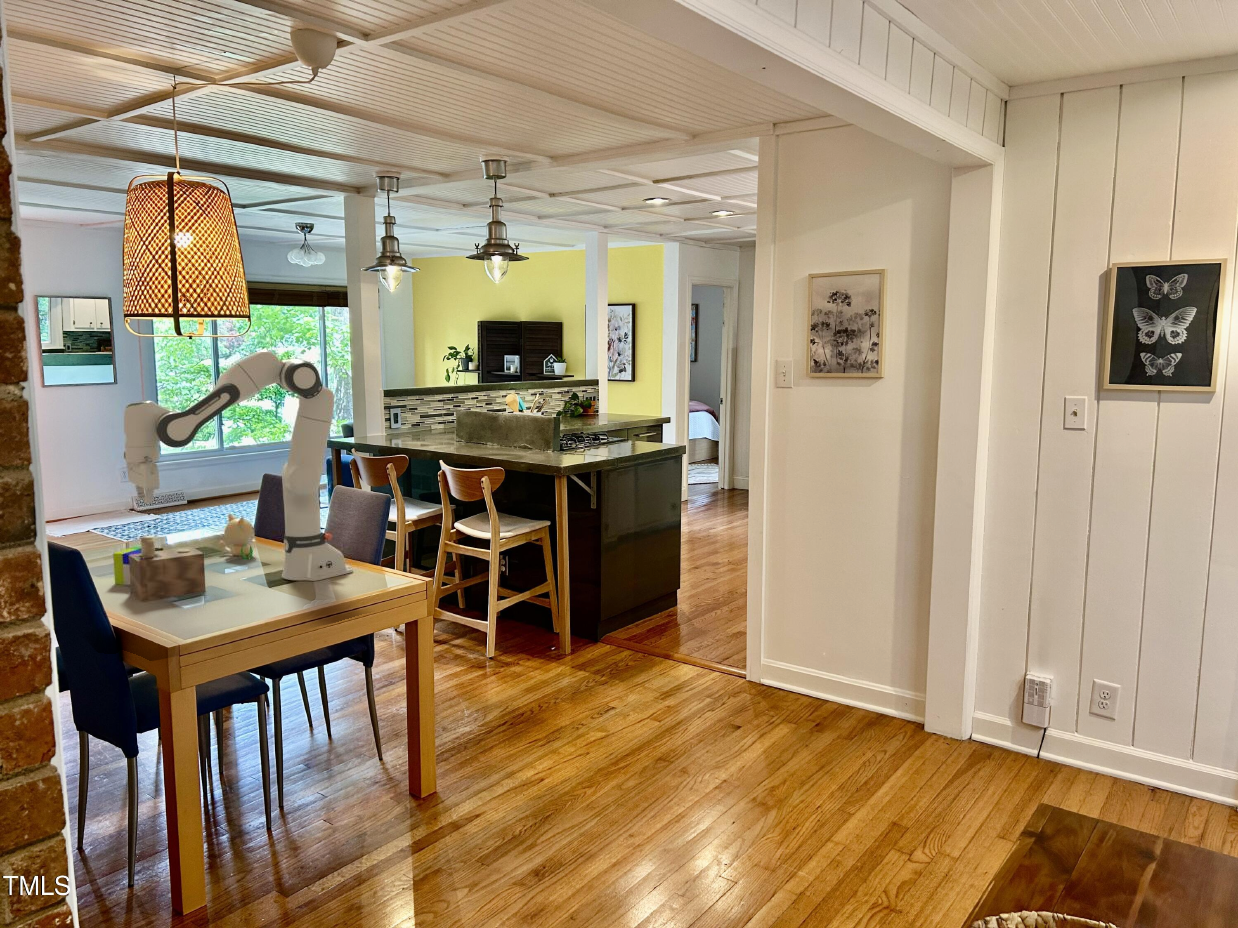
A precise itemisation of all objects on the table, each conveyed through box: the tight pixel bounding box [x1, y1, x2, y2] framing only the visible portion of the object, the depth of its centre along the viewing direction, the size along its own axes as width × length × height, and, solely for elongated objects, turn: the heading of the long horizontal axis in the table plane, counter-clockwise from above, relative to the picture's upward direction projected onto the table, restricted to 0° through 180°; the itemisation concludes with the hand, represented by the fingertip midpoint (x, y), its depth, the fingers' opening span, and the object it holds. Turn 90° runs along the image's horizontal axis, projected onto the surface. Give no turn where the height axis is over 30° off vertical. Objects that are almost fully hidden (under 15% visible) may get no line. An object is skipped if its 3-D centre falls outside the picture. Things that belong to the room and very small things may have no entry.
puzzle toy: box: [112, 546, 164, 586], centre depth 283 cm, size 10×10×10 cm
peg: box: [140, 535, 156, 559], centre depth 266 cm, size 4×4×12 cm
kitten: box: [218, 513, 256, 560], centre depth 318 cm, size 15×10×15 cm, turn 49°
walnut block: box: [129, 546, 207, 603], centre depth 270 cm, size 18×12×12 cm, turn 132°
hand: (145, 500), depth 264 cm, fingers open, 7 cm apart
